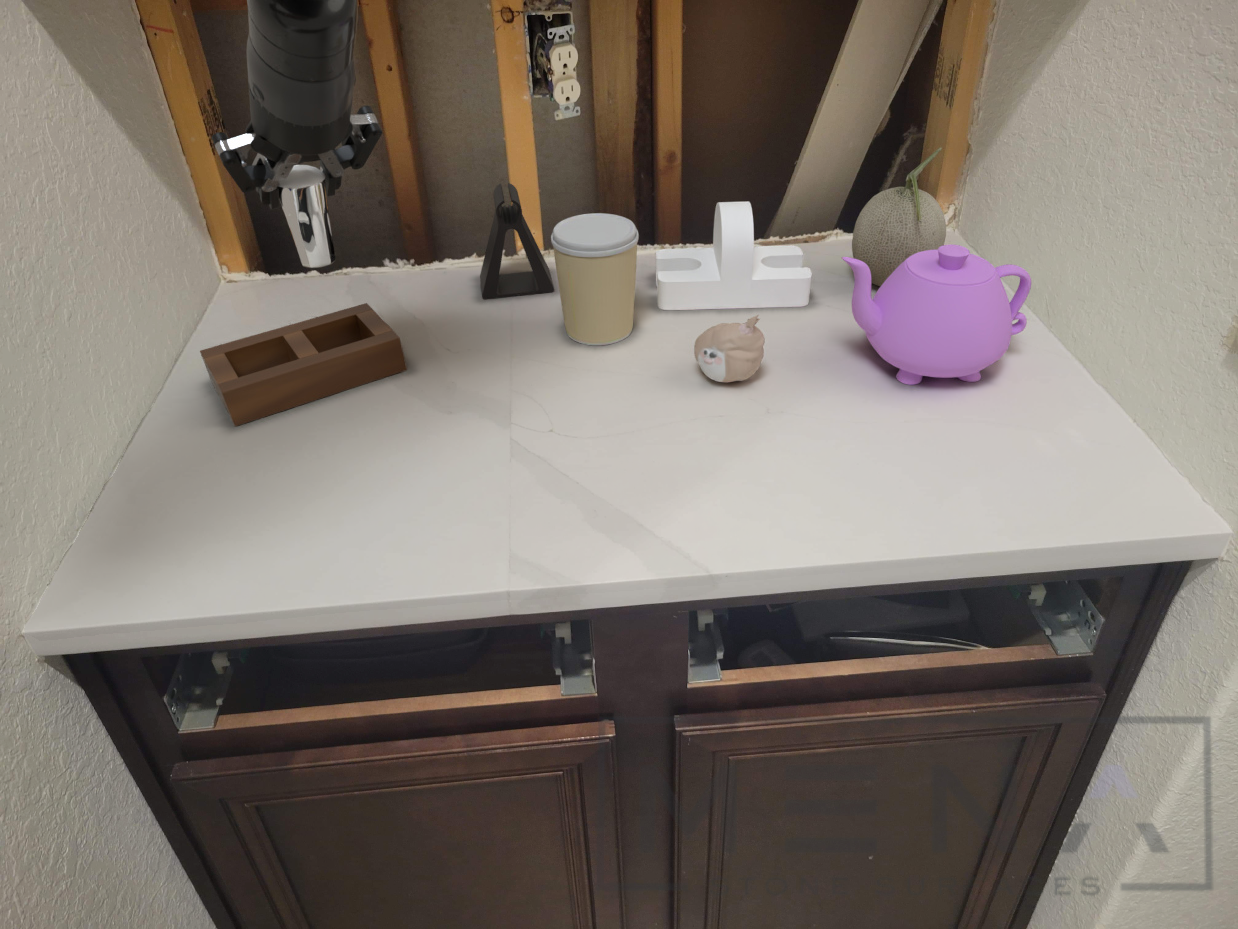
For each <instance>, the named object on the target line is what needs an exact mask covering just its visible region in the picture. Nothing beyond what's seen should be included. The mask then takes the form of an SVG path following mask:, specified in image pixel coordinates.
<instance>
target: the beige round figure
mask: <svg viewBox="0 0 1238 929" xmlns="http://www.w3.org/2000/svg"><path fill="white" fill-rule="evenodd" d="M760 320H761V318H759V314H757V315H755V316H753V317H750V318H748V319H747V321H746V322H742V323H739V322H731V323H727V322H723V323H718V324H715V325H712V326H710V327H709V328H707V329H706V330H704V331H703V332H702V333H701V334H700V335H698V336H697V338H696V339H695V341H694V345H693V346H694V348H693V349H694V350H693V353H694V358H695V360H696V362H697V363H698V364H699V367H700V369H701V372H703V373H704V375H705V376H706V377H707V378H709V379H711V380H712V381H715V382H719V383H732V382H741V381H743V382H744V381H746V380H748V379H750V378H751V377H753V375H754V374H755V373H756V372H757V371H758V370H759V368H760V366H761V365H762V362H763V360H764V355H765V350H764V345H765V340H766V338H765V334H764V333H763V331H762V330H761V329H760V328H759V327H757V326H756V325H757V323H759V321H760Z"/></svg>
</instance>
